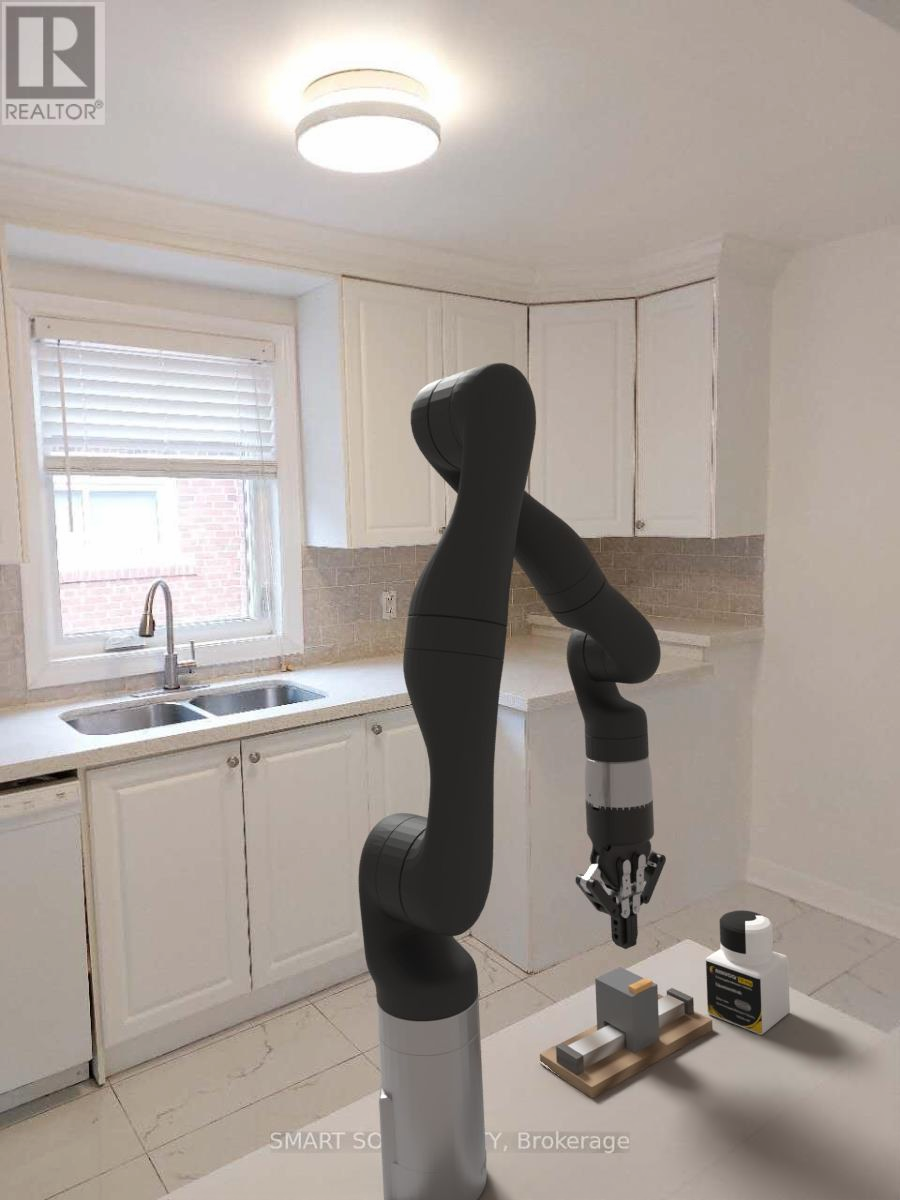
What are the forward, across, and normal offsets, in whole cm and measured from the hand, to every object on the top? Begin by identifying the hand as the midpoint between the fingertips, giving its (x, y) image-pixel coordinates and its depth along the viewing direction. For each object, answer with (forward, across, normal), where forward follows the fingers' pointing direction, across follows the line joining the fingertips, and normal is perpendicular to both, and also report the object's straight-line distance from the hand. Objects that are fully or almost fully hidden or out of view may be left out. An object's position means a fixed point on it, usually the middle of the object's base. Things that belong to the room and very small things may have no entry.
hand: (624, 945), depth 97 cm
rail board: (+12, 0, 0) cm, 12 cm away
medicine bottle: (+12, -16, +5) cm, 21 cm away
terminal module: (+11, 0, 0) cm, 11 cm away
